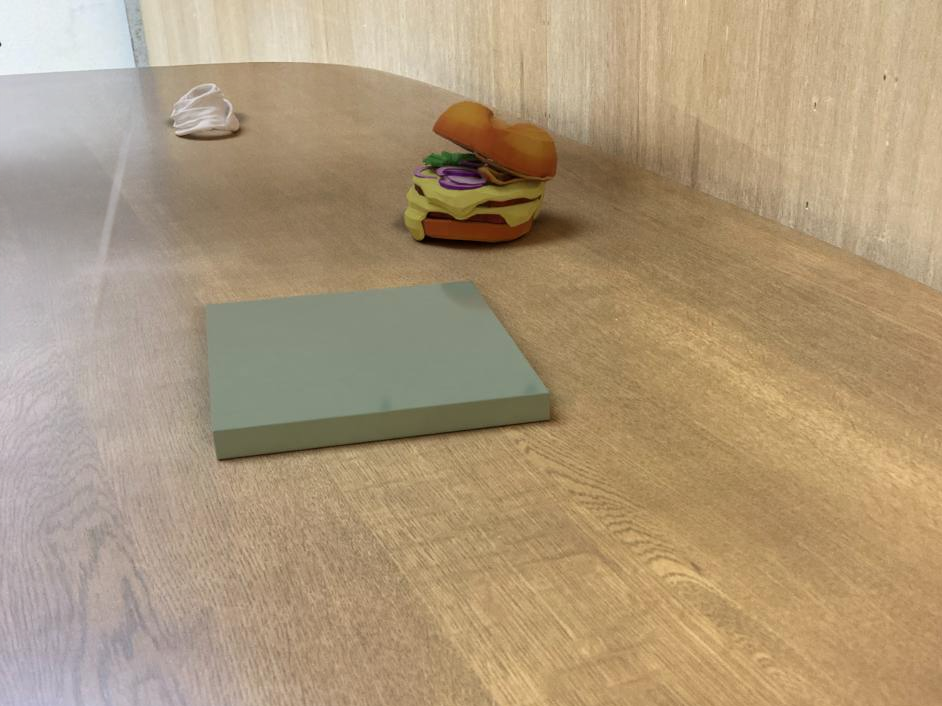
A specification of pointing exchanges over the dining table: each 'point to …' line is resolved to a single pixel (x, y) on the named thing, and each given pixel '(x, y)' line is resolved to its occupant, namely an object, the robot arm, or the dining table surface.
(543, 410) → the serving slab
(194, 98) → the whipped cream
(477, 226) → the cheeseburger
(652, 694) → the dining table surface
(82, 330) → the dining table surface
